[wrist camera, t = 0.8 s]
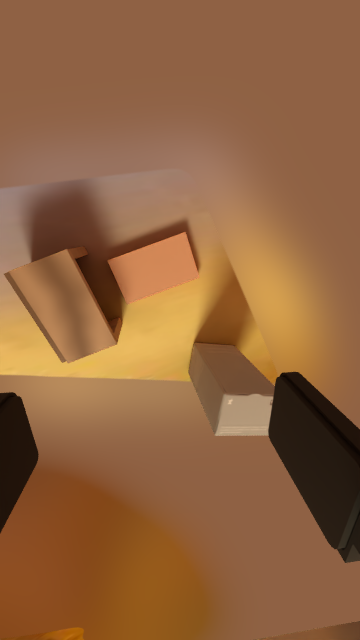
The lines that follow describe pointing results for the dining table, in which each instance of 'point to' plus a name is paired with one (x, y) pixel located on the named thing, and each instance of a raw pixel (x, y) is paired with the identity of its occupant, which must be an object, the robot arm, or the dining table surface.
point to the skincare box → (231, 390)
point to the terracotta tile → (154, 268)
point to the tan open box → (64, 305)
